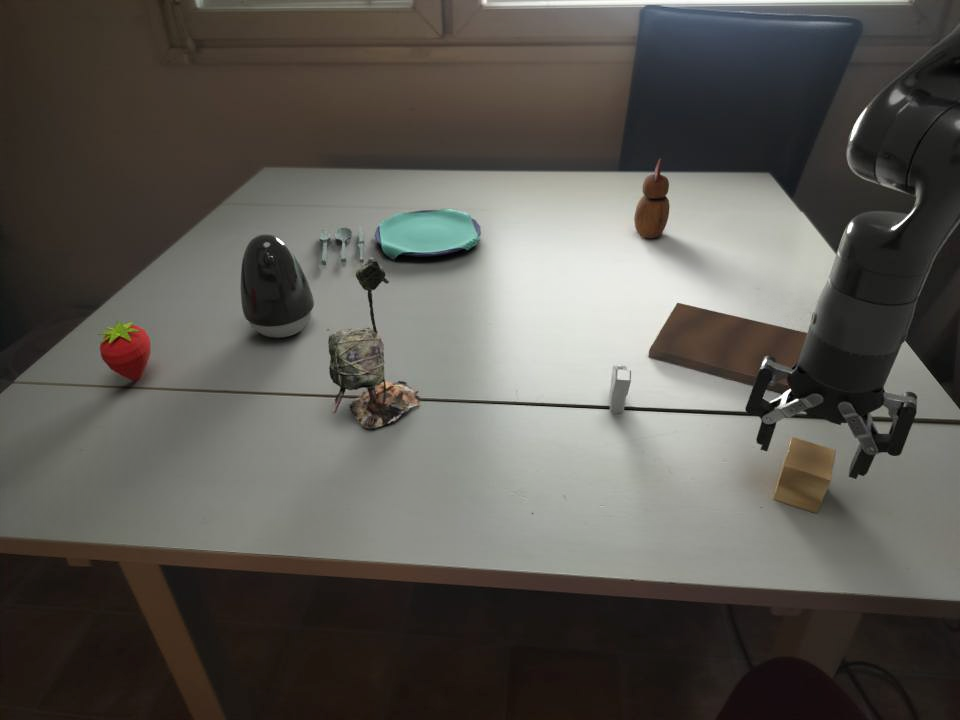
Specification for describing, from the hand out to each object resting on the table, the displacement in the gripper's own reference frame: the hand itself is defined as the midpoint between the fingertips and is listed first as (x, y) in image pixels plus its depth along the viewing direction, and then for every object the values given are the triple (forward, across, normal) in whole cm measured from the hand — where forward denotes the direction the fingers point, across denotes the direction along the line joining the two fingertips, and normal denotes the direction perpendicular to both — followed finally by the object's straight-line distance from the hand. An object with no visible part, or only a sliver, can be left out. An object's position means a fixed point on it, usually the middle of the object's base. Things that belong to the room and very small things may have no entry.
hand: (807, 459), depth 70 cm
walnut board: (+5, +12, -24) cm, 27 cm away
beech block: (+5, 0, 0) cm, 5 cm away
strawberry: (+6, +82, +20) cm, 84 cm away
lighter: (+5, +22, -4) cm, 23 cm away
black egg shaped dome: (+5, +73, +1) cm, 73 cm away
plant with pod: (+5, +49, +10) cm, 50 cm away
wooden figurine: (+5, +34, -56) cm, 66 cm away
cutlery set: (+5, +74, -32) cm, 81 cm away
